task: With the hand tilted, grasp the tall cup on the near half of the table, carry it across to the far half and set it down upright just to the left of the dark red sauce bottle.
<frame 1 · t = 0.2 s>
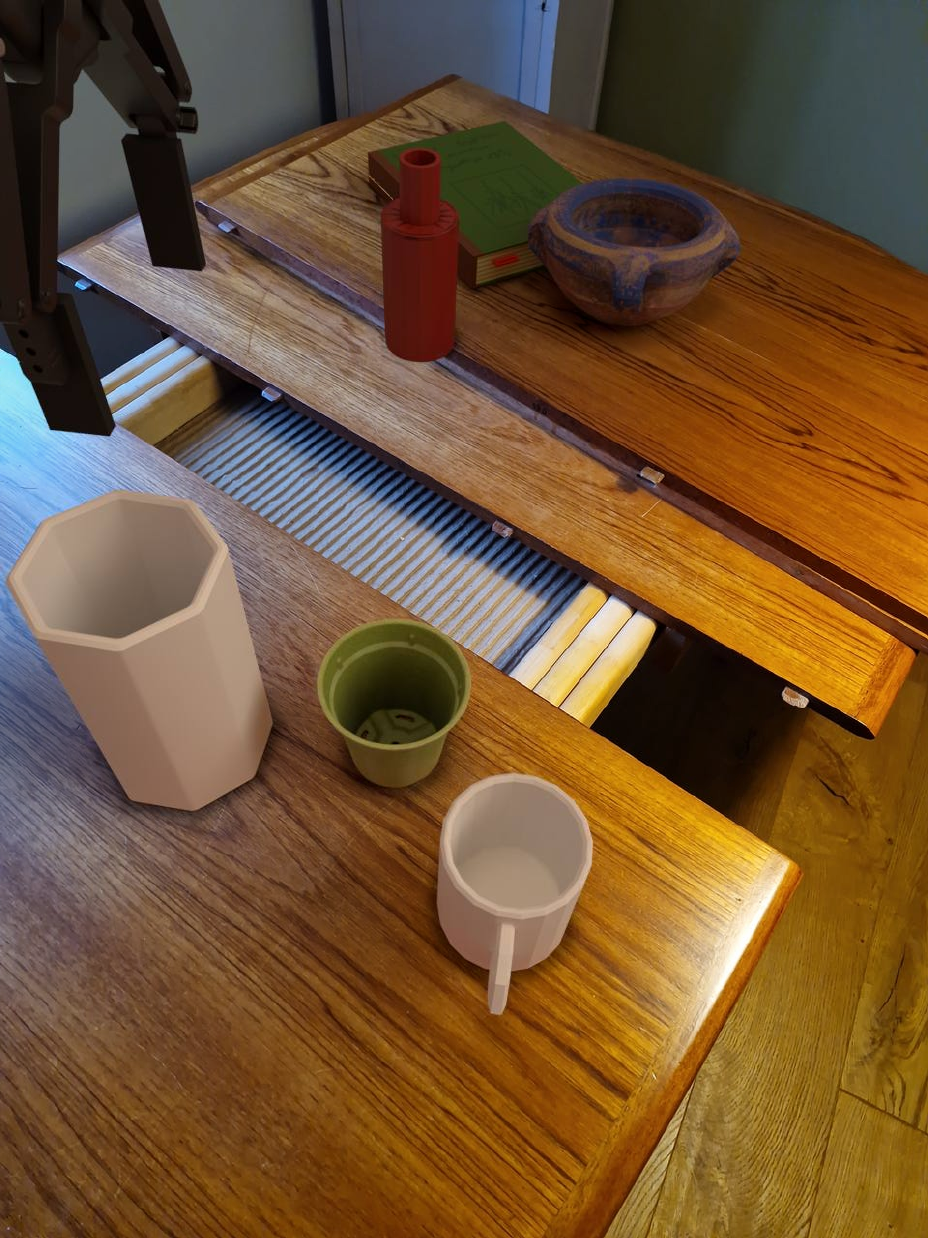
hand: (136, 339, 44), 27 cm above the table, tool pointing down, fingers open, 13 cm apart
sauce bottle: (419, 341, 89), on the table
mug: (499, 938, 54), on the table
plant pot: (397, 750, 61), on the table
book: (490, 217, 104), on the table
cup: (191, 739, 61), on the table
bowl: (619, 300, 95), on the table
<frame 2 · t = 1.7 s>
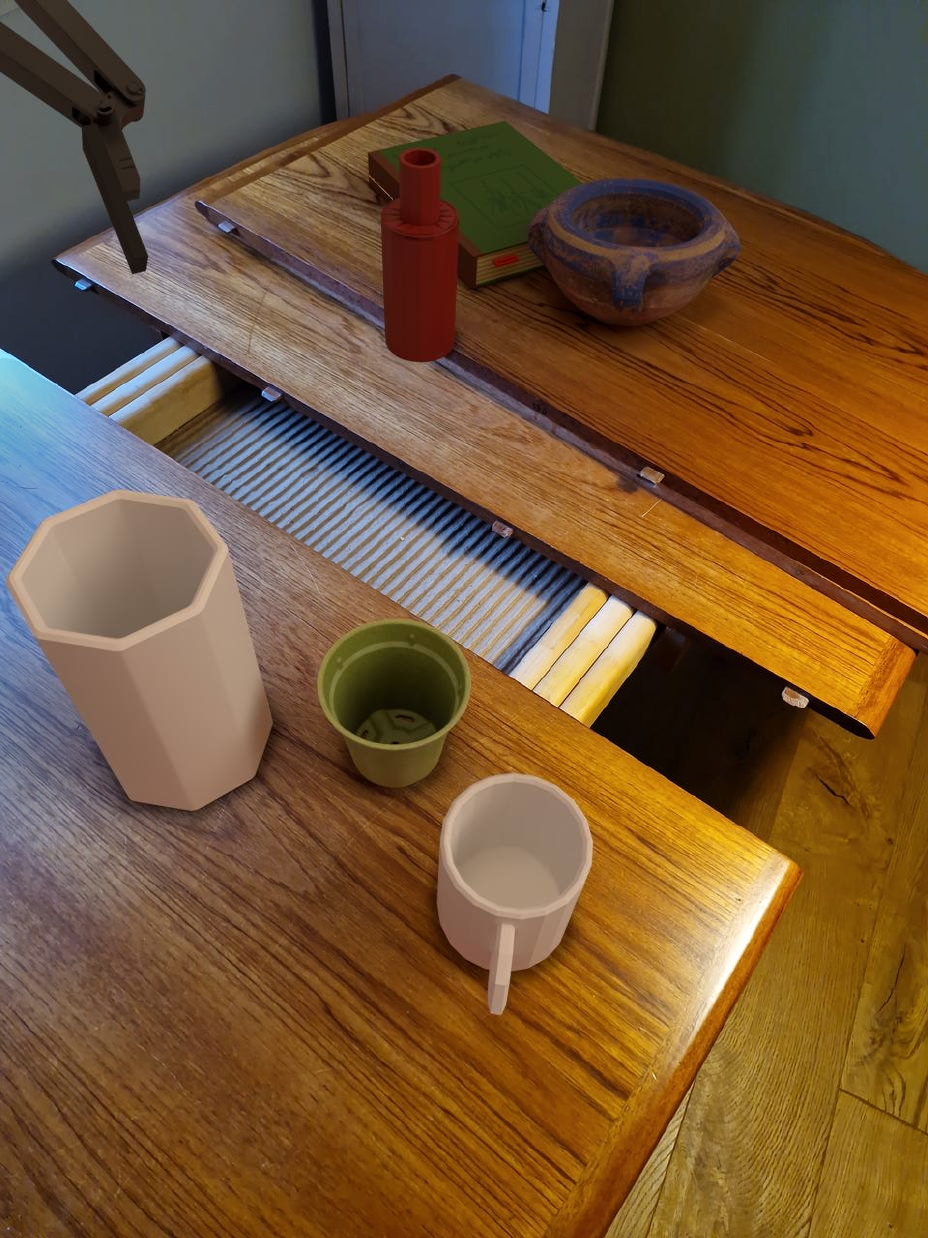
hand: (5, 299, 44), 28 cm above the table, tool tilted 45°, fingers open, 13 cm apart
nothing on the table moved.
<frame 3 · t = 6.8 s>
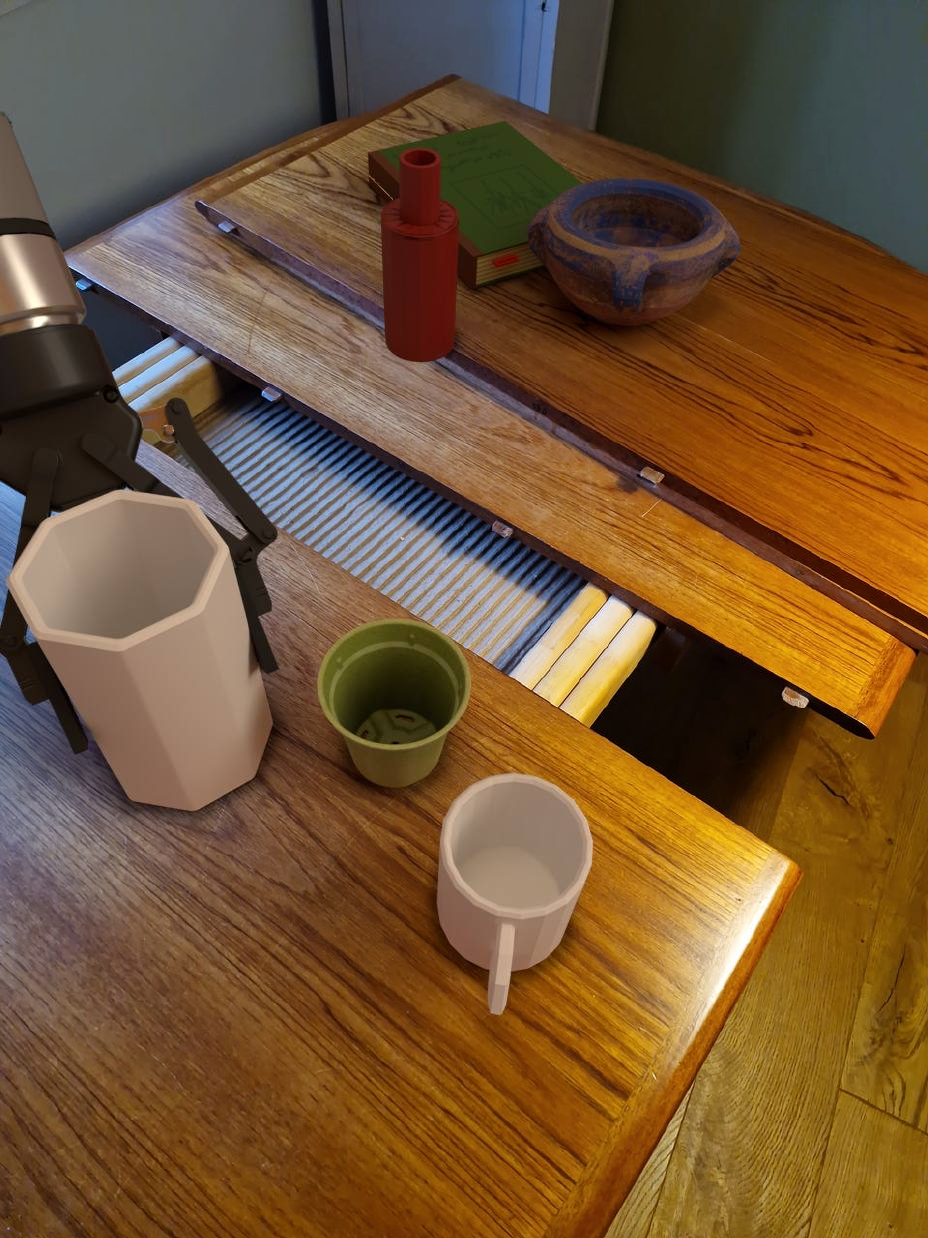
hand: (179, 707, 53), 8 cm above the table, tool tilted 45°, fingers closed on cup, 11 cm apart
cup: (191, 739, 61), on the table, touching gripper
everything else where it was.
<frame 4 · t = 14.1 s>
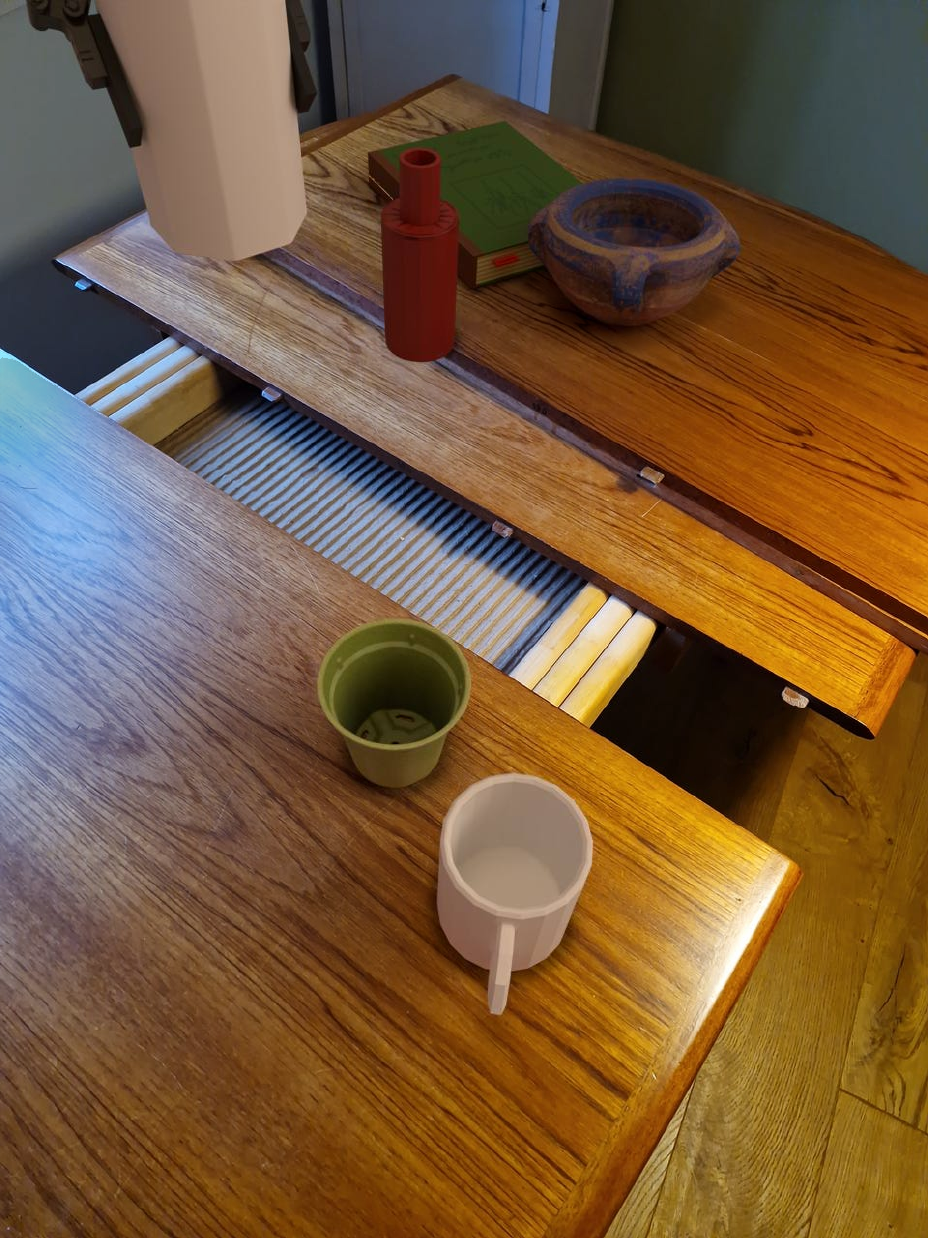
hand: (224, 120, 57), 27 cm above the table, tool tilted 45°, fingers closed on cup, 11 cm apart
cup: (230, 223, 65), point 19 cm above the table, touching gripper
everything else where it was.
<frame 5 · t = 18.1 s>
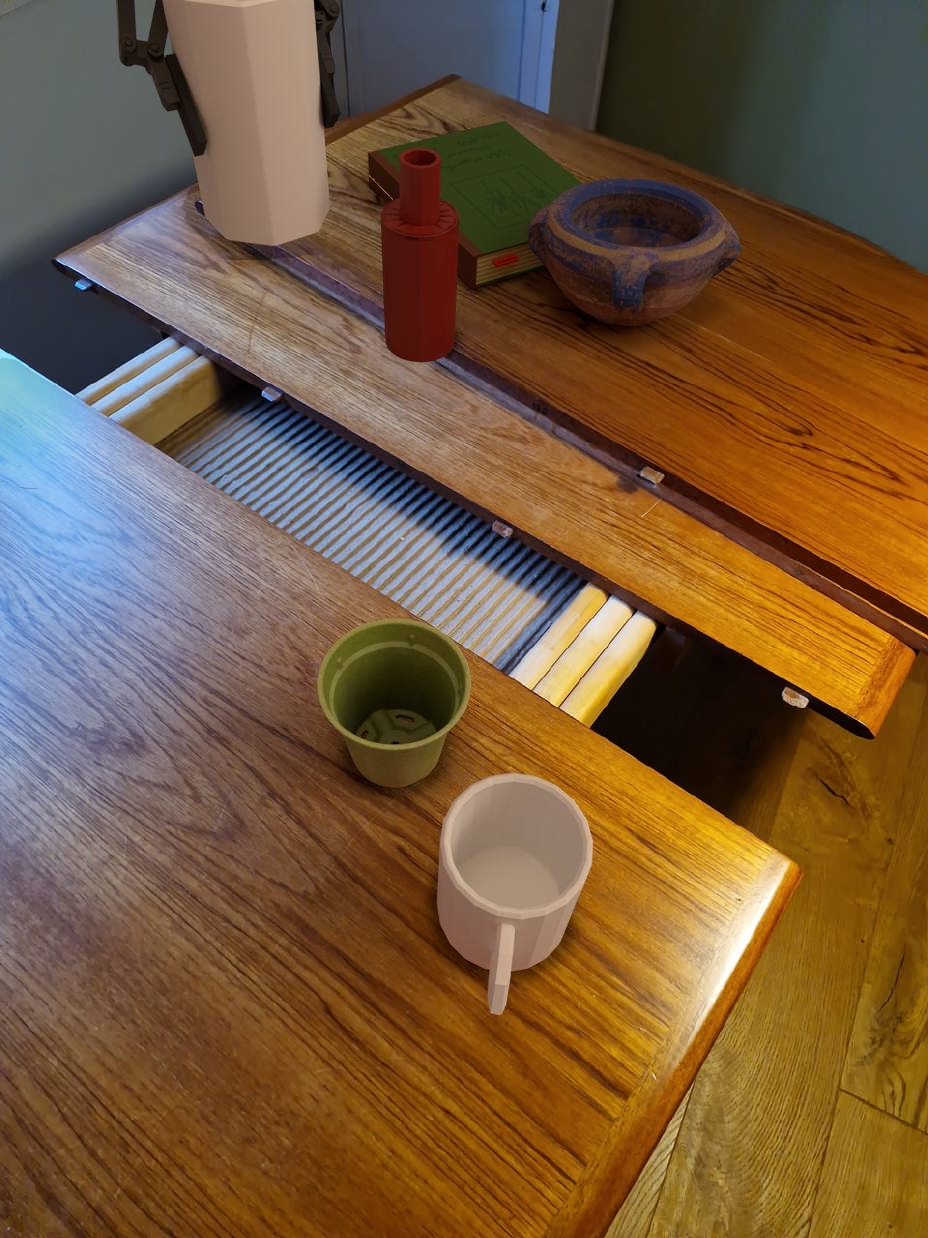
hand: (268, 134, 73), 19 cm above the table, tool tilted 45°, fingers closed on cup, 11 cm apart
cup: (268, 216, 81), point 11 cm above the table, touching gripper
everything else where it was.
when the fingers open (8 cm above the table, at t = 21.7 s): cup stays where it is, on the table.
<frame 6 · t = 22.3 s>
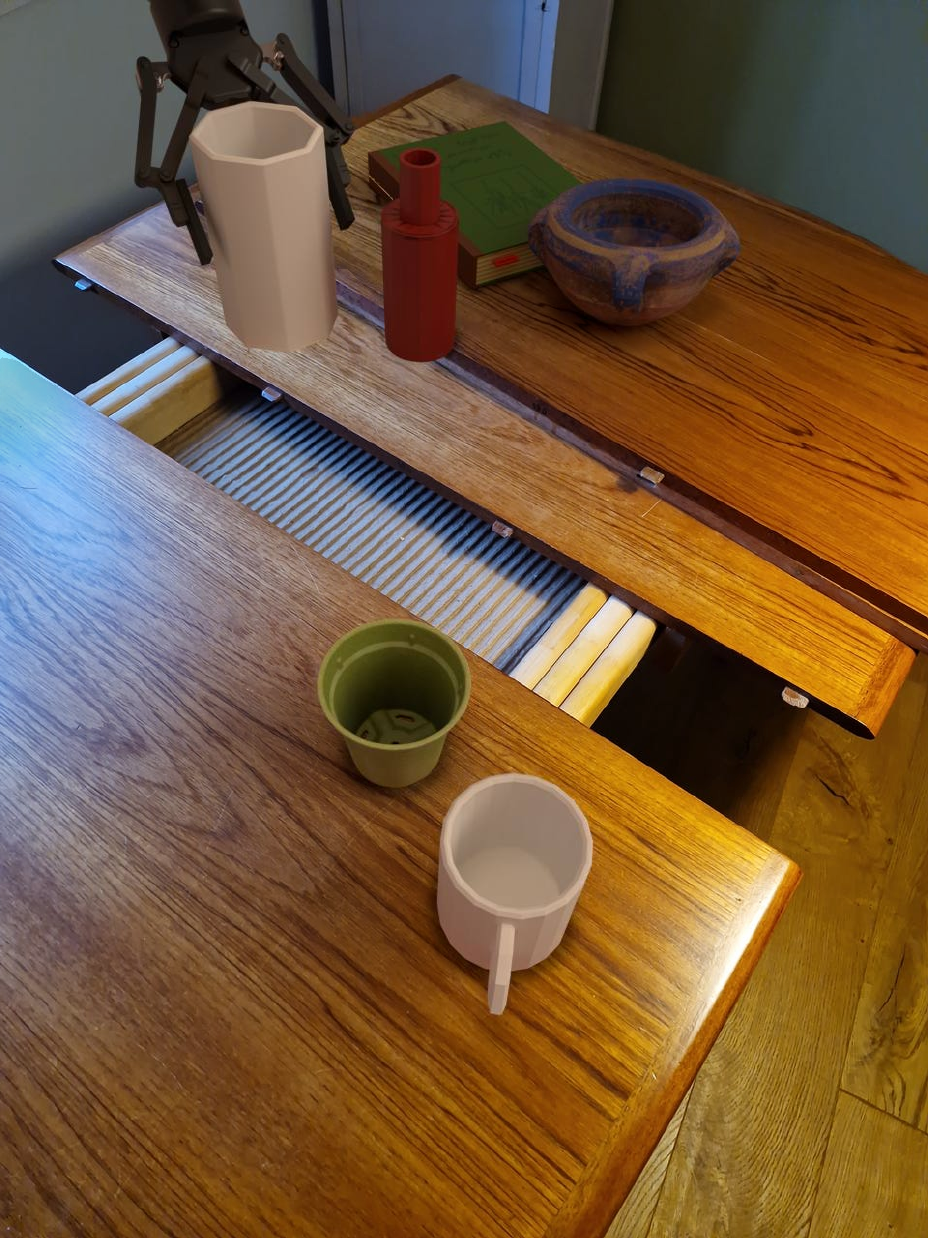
hand: (279, 242, 81), 10 cm above the table, tool tilted 45°, fingers open, 13 cm apart
cup: (283, 322, 90), on the table
everything else where it was.
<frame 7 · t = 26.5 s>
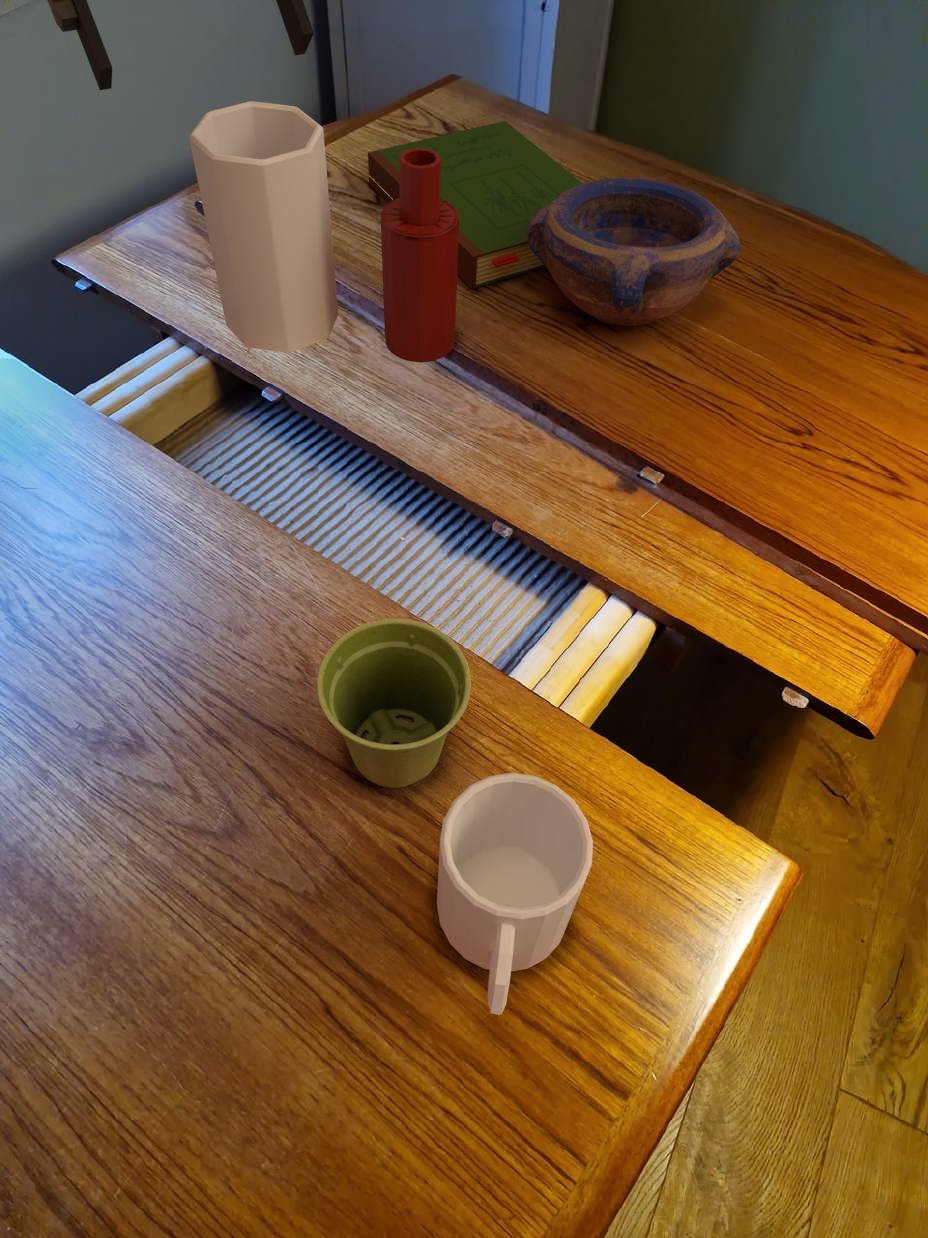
hand: (209, 61, 59), 29 cm above the table, tool tilted 45°, fingers open, 13 cm apart
nothing on the table moved.
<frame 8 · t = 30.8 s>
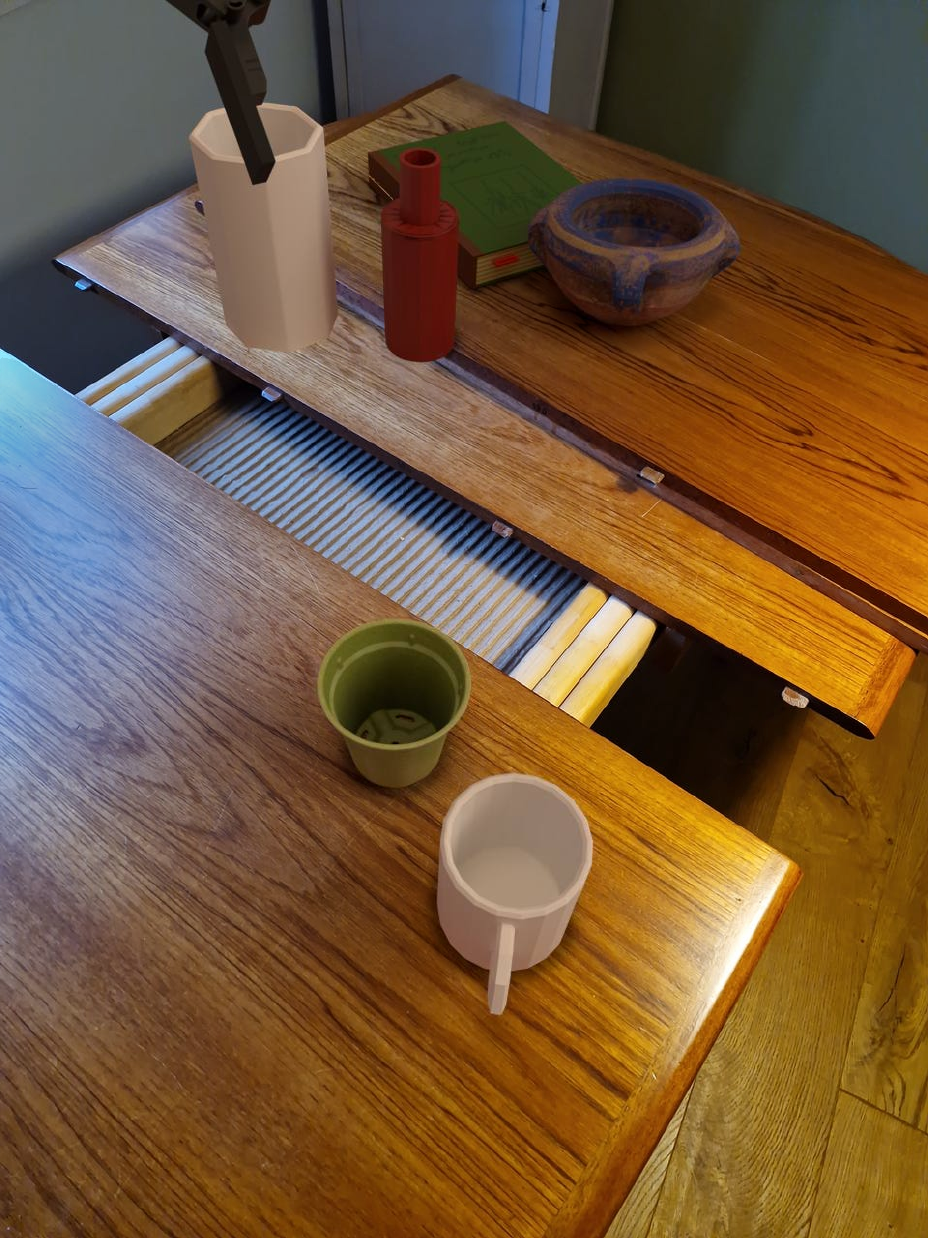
hand: (130, 204, 43), 32 cm above the table, tool tilted 45°, fingers open, 13 cm apart
nothing on the table moved.
at the end: cup inside the target area on the table beside the sauce bottle (0.1 cm from its centre), on the table; cup tilted 0°; the gripper is holding nothing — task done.
